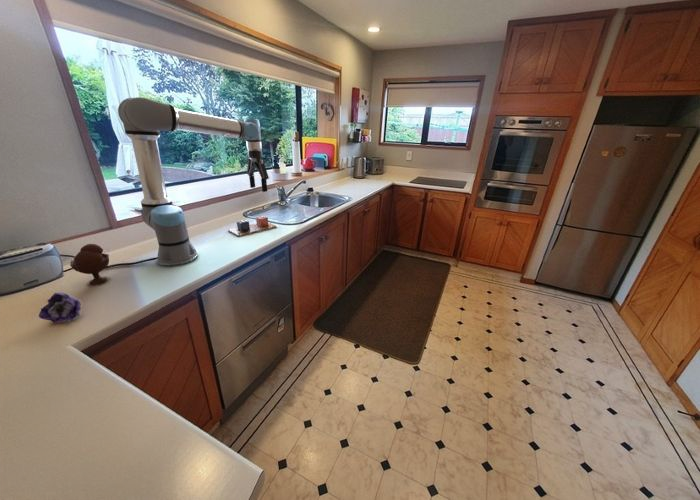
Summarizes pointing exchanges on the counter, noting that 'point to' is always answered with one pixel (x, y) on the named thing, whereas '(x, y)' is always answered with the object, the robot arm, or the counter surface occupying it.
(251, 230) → the word board
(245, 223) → the dark grey cube
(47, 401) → the counter surface
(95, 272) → the ice cream bowl
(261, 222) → the orange block
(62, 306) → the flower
